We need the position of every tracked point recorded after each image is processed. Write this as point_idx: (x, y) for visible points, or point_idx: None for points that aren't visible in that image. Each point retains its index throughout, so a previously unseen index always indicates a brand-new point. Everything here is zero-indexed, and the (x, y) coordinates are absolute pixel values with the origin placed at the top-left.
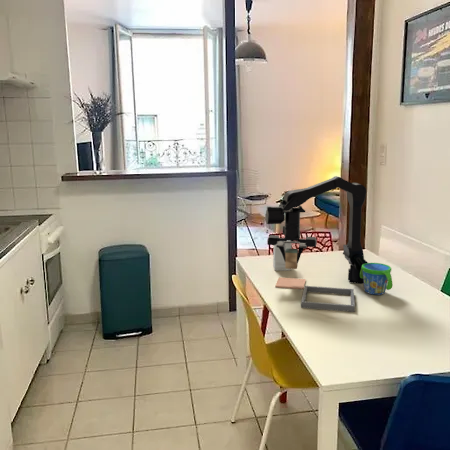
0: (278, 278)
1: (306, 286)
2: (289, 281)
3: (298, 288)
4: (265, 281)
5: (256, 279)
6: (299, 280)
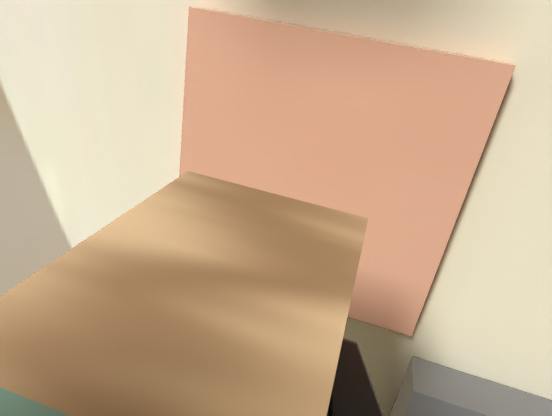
0: (187, 52)
1: (424, 409)
2: (298, 154)
3: (365, 314)
4: (88, 102)
5: (7, 43)
6: (416, 120)
